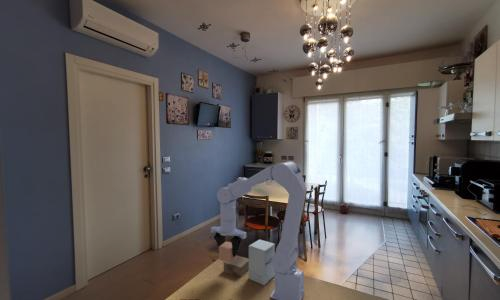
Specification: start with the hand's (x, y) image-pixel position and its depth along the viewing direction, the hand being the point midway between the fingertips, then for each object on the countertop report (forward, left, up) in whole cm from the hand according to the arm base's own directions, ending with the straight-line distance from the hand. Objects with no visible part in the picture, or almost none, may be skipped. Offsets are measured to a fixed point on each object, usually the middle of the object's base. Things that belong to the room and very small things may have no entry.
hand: (228, 253), depth 89 cm
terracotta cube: (0, 0, -2) cm, 2 cm away
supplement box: (-12, -4, -9) cm, 15 cm away
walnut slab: (-1, -5, -9) cm, 10 cm away
